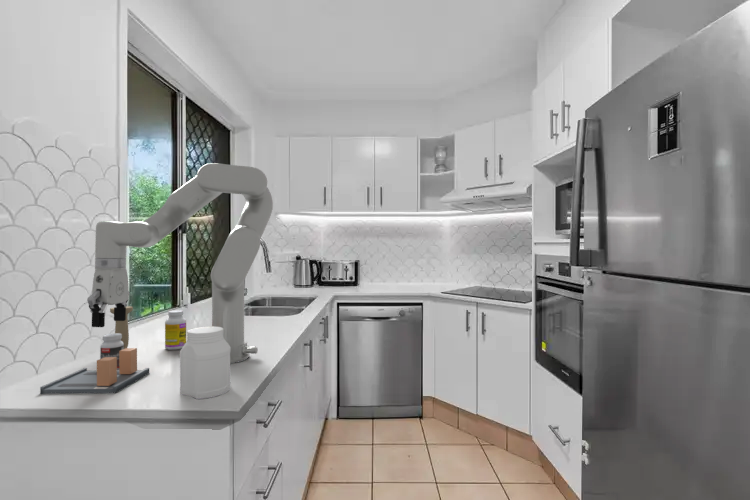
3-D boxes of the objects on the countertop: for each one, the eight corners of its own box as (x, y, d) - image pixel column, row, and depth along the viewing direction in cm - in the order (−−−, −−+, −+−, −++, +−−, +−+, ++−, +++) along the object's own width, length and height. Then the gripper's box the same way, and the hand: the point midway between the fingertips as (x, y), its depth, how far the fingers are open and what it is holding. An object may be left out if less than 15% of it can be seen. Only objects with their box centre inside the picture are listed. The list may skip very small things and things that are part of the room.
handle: (135, 351, 136) (135, 307, 136) (114, 356, 131) (113, 309, 131) (129, 349, 139) (128, 305, 139) (108, 353, 134) (107, 308, 134)
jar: (173, 392, 99) (172, 330, 99) (206, 381, 107) (206, 324, 107) (204, 401, 93) (204, 336, 93) (237, 388, 101) (237, 328, 101)
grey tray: (149, 373, 113) (149, 367, 113) (115, 393, 98) (115, 386, 98) (83, 374, 113) (83, 368, 113) (40, 393, 98) (40, 387, 98)
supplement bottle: (180, 350, 138) (180, 312, 138) (161, 350, 138) (161, 312, 138) (189, 345, 145) (189, 309, 145) (171, 345, 145) (171, 309, 145)
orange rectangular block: (137, 370, 112) (136, 348, 112) (130, 374, 109) (130, 351, 109) (126, 370, 112) (125, 348, 111) (119, 374, 109) (119, 351, 108)
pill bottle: (98, 373, 114) (98, 337, 113) (101, 367, 119) (101, 333, 119) (123, 370, 116) (122, 335, 116) (124, 365, 121) (124, 332, 121)
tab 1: (116, 381, 103) (116, 357, 103) (109, 385, 100) (109, 360, 100) (104, 381, 103) (104, 357, 102) (96, 385, 100) (96, 360, 99)
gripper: (104, 265, 108) (102, 330, 108) (140, 263, 126) (139, 318, 126) (75, 265, 108) (74, 329, 108) (116, 263, 126) (114, 318, 126)
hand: (109, 323), depth 117 cm, fingers open, 9 cm apart
